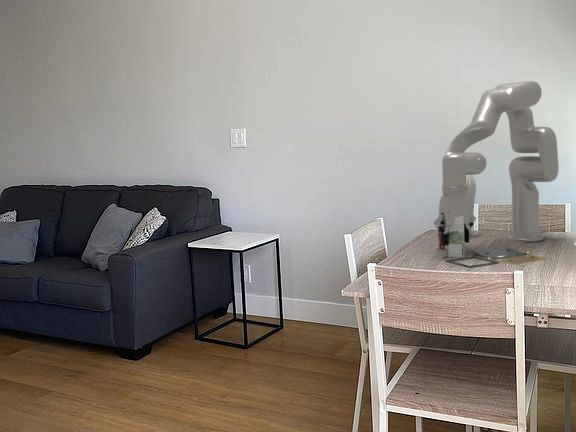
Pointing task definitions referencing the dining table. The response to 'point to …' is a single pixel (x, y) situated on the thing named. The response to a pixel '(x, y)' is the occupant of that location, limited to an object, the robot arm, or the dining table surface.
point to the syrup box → (456, 238)
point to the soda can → (440, 246)
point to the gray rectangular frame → (472, 265)
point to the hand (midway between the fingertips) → (455, 243)
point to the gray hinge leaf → (498, 252)
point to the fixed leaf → (520, 259)
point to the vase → (470, 192)
